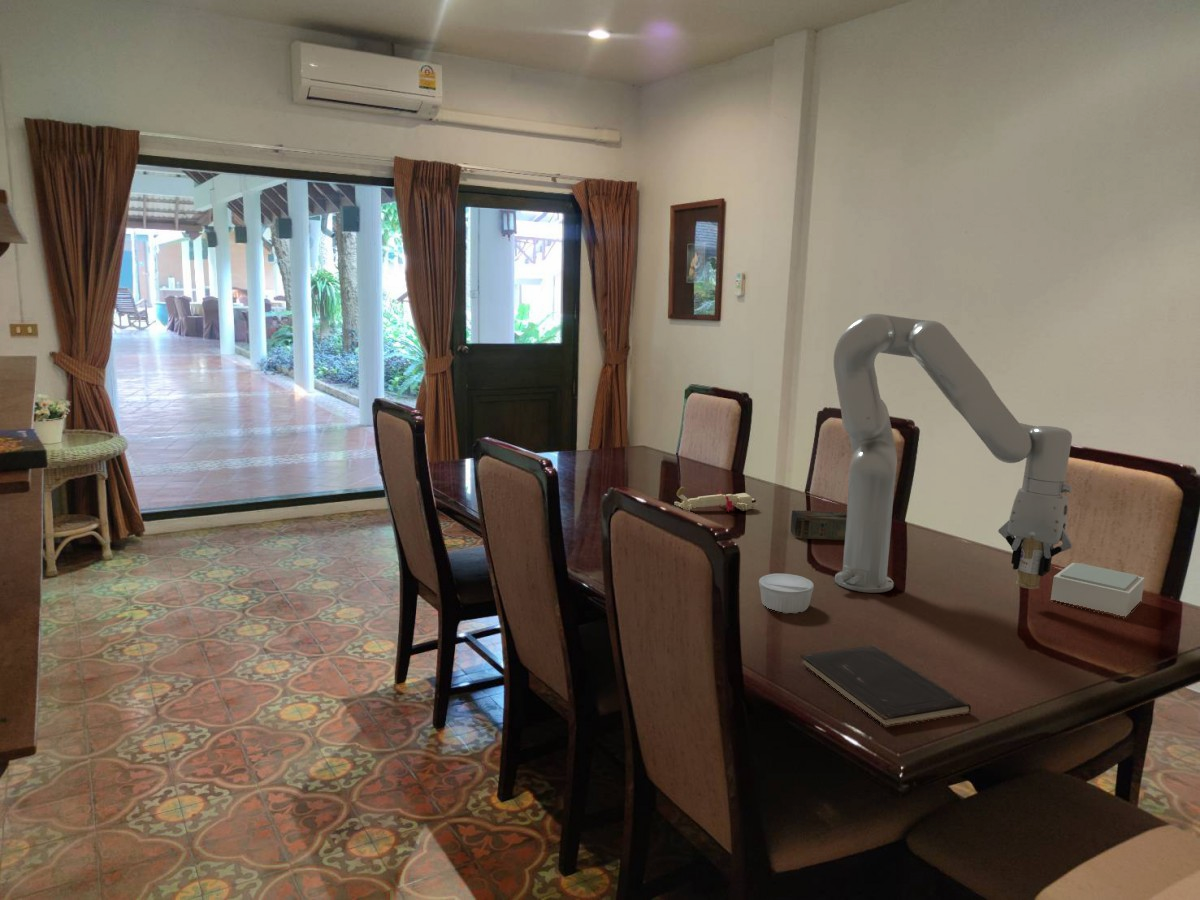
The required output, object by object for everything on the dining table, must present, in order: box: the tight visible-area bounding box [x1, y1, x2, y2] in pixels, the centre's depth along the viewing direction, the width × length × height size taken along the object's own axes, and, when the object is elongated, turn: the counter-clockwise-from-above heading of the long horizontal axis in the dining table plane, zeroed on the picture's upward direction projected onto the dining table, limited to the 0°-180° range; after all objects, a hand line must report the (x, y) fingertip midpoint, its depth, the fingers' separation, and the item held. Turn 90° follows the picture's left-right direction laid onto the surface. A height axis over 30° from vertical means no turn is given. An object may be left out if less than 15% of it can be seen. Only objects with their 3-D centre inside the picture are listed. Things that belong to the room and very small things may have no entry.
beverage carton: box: [790, 509, 847, 541], centre depth 224 cm, size 8×19×7 cm, turn 88°
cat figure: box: [673, 486, 758, 513], centre depth 249 cm, size 10×9×25 cm
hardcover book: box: [799, 644, 972, 725], centre depth 136 cm, size 16×23×2 cm
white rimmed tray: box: [1050, 562, 1145, 617], centre depth 178 cm, size 14×14×6 cm
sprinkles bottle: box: [1015, 532, 1044, 590], centre depth 173 cm, size 5×5×13 cm
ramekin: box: [758, 572, 815, 614], centre depth 172 cm, size 11×11×5 cm
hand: (1029, 570), depth 174 cm, fingers closed on sprinkles bottle, 4 cm apart
